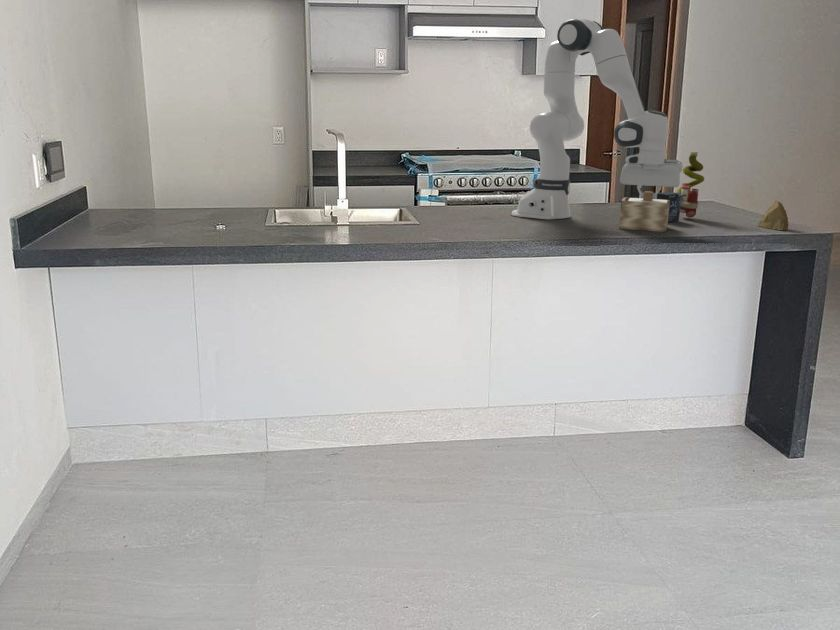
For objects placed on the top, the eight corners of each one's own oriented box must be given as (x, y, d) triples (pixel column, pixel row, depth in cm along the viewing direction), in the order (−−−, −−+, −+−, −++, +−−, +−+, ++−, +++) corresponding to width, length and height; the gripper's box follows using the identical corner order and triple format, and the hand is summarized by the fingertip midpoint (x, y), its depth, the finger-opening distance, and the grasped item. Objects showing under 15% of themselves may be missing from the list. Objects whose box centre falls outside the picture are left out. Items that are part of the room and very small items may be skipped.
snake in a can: (670, 215, 311) (677, 150, 304) (696, 216, 310) (704, 151, 303) (675, 220, 300) (682, 153, 293) (703, 221, 299) (711, 154, 292)
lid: (627, 205, 279) (628, 192, 278) (629, 202, 287) (630, 189, 285) (665, 207, 275) (667, 194, 274) (667, 204, 283) (668, 191, 281)
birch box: (618, 228, 281) (621, 200, 279) (621, 224, 290) (624, 197, 288) (665, 231, 276) (668, 203, 274) (667, 227, 285) (670, 200, 283)
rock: (797, 225, 280) (790, 217, 289) (785, 206, 278) (778, 198, 287) (768, 242, 284) (762, 233, 293) (756, 223, 282) (750, 215, 291)
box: (665, 223, 295) (668, 194, 292) (653, 220, 299) (656, 192, 296) (679, 221, 299) (682, 193, 296) (667, 219, 303) (670, 191, 300)
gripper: (683, 159, 276) (679, 199, 280) (623, 156, 282) (619, 195, 286) (682, 160, 270) (678, 201, 274) (621, 158, 277) (617, 197, 281)
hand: (647, 198), depth 280 cm, fingers closed on lid, 3 cm apart
